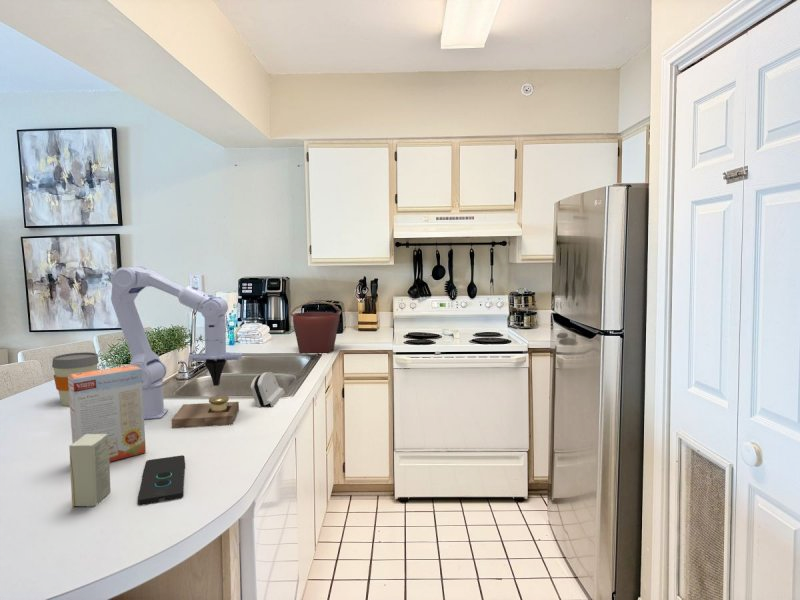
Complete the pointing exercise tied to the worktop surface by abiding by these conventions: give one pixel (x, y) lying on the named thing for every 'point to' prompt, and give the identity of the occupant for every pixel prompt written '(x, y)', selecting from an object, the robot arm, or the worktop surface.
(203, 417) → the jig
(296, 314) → the bucket
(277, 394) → the grey piece
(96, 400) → the cracker box
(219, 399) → the bushing
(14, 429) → the worktop surface
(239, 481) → the worktop surface
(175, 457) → the smart home device
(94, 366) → the reusable coffee cup
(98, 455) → the skincare box
